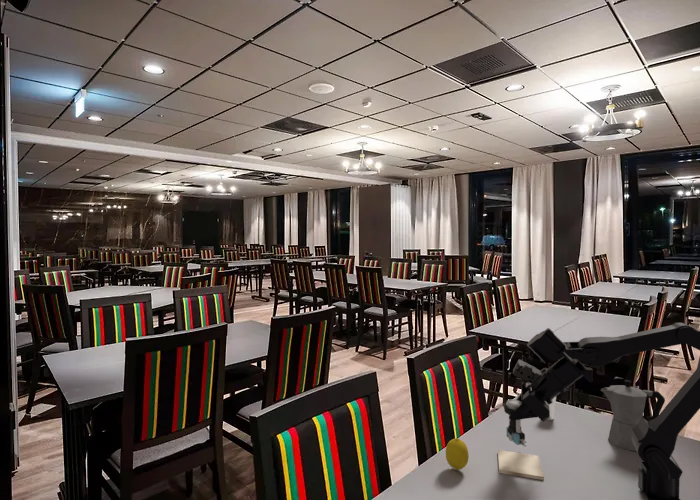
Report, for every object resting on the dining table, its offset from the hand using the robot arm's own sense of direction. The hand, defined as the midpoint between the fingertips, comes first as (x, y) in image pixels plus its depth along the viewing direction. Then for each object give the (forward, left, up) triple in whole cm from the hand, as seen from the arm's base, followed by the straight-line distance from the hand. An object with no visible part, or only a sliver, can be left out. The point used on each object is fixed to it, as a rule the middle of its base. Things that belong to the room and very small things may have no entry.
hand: (510, 414), depth 104 cm
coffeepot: (-33, -22, -13) cm, 42 cm away
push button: (-1, 0, -7) cm, 7 cm away
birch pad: (-2, 0, -13) cm, 13 cm away
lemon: (+13, +7, -13) cm, 20 cm away
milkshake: (-13, -33, -13) cm, 38 cm away
